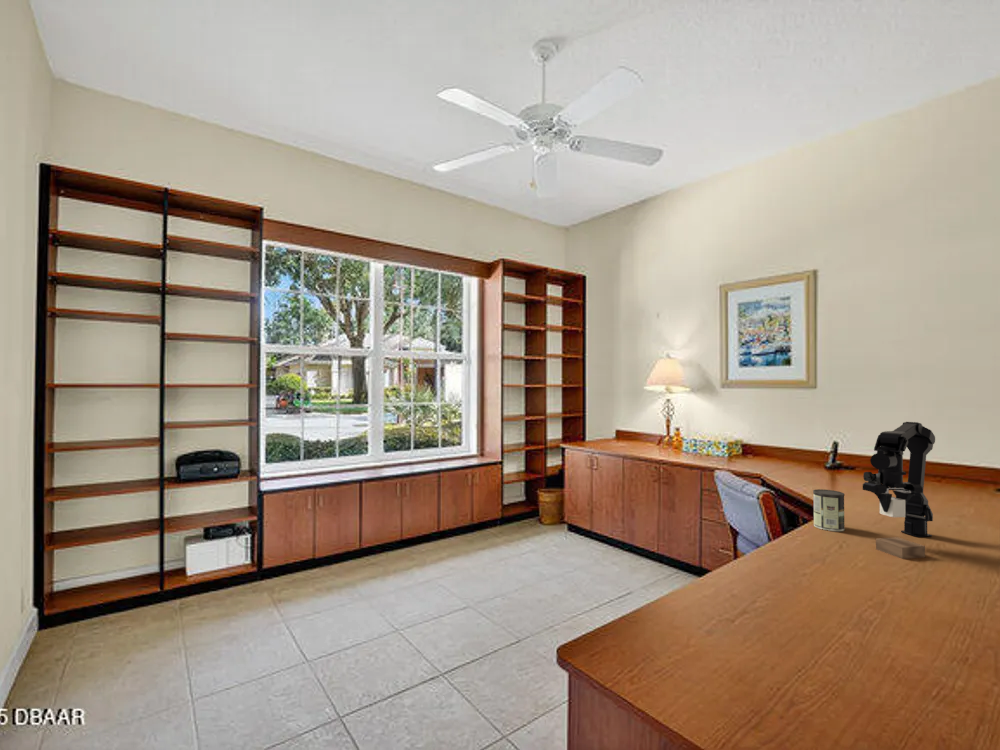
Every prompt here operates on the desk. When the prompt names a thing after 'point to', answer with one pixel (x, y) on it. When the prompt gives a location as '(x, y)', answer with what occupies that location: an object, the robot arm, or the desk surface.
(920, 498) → the robot arm
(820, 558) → the desk surface
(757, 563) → the desk surface
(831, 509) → the coffee can
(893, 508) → the cream block
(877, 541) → the walnut block
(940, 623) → the desk surface
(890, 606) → the desk surface
